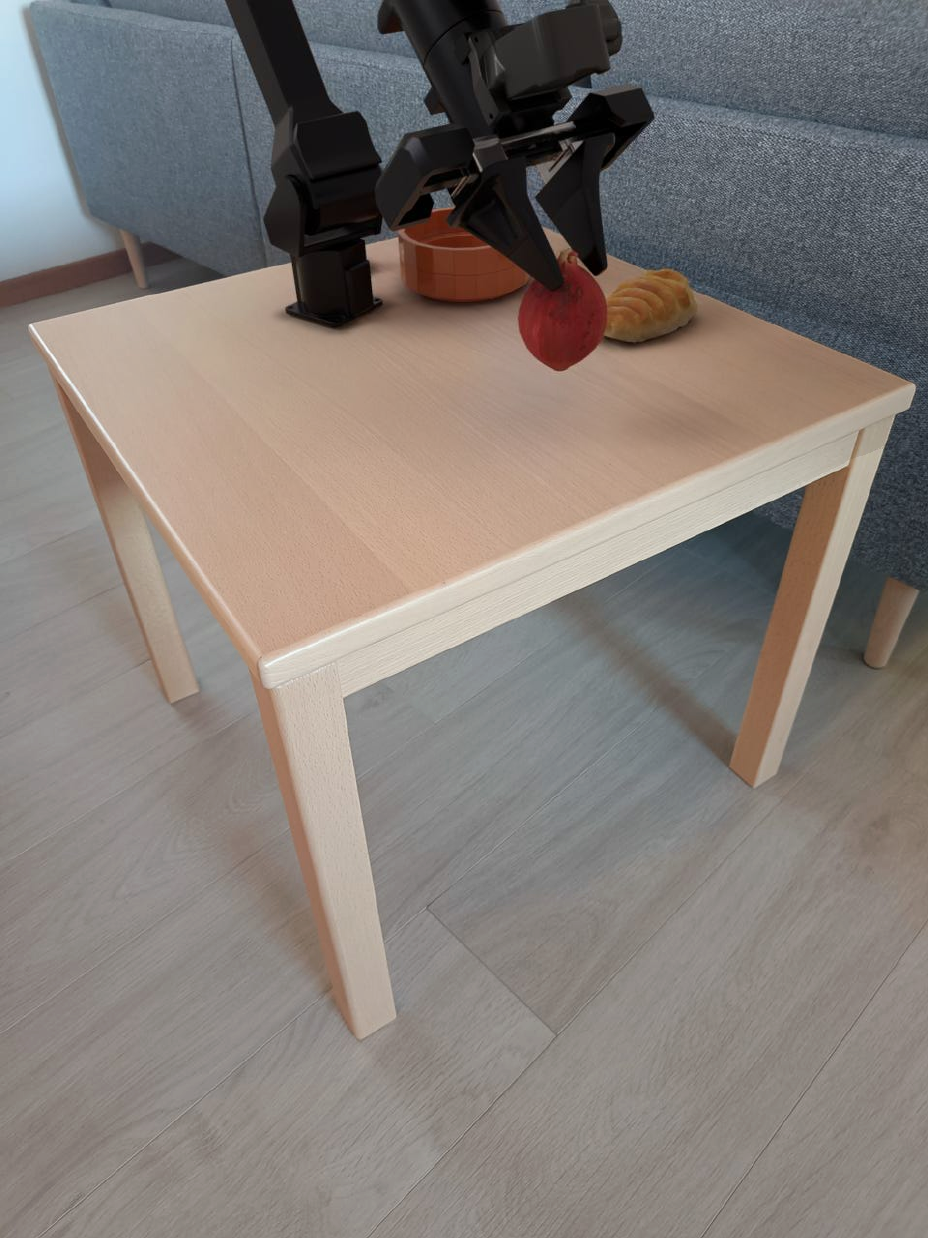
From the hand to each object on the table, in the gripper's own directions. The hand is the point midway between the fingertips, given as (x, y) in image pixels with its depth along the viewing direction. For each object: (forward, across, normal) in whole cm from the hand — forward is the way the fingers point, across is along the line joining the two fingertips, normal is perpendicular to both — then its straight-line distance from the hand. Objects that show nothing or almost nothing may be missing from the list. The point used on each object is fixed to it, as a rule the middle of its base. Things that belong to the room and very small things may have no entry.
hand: (580, 280), depth 55 cm
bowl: (-11, +13, +28) cm, 33 cm away
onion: (+4, 0, +6) cm, 7 cm away
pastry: (+2, +18, +15) cm, 23 cm away
